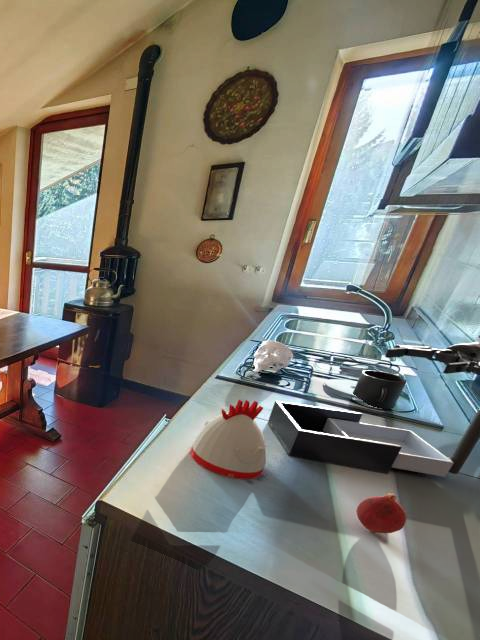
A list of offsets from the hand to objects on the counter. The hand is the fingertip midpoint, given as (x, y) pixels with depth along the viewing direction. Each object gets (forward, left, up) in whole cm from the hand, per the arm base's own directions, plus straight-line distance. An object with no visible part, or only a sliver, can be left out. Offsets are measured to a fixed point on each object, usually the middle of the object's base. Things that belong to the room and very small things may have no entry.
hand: (415, 360), depth 113 cm
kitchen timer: (-41, +68, -14) cm, 81 cm away
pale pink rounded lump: (+25, +23, -14) cm, 37 cm away
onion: (-61, +53, -14) cm, 82 cm away
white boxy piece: (-34, +30, -12) cm, 47 cm away
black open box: (-31, +41, -13) cm, 53 cm away
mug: (-3, +9, -14) cm, 17 cm away
